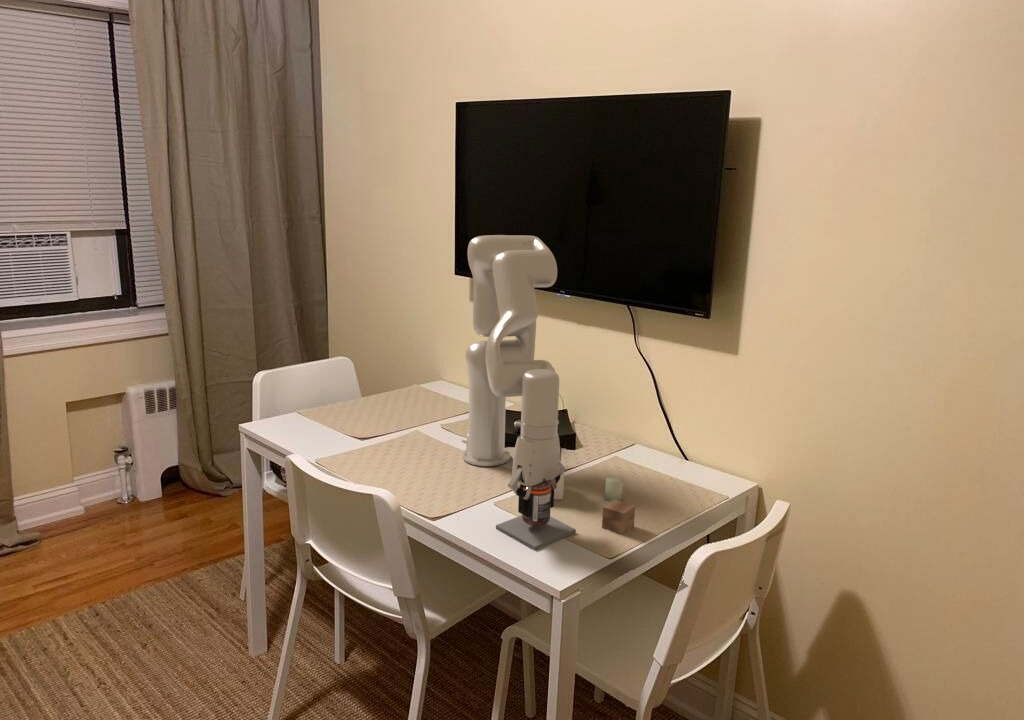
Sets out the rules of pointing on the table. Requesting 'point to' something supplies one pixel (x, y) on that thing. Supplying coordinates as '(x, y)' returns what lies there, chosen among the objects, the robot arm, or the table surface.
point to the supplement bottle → (539, 504)
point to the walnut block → (618, 516)
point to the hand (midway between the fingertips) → (536, 509)
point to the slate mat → (535, 532)
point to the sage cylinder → (613, 488)
